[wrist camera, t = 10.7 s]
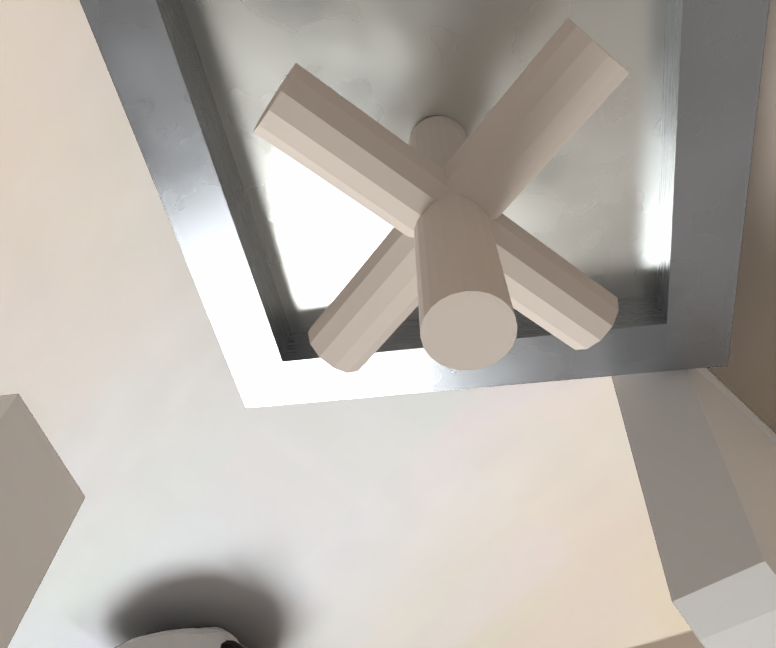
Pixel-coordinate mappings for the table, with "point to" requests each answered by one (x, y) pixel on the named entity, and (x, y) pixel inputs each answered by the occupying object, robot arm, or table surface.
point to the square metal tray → (468, 107)
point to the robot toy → (186, 639)
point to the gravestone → (707, 501)
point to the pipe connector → (452, 212)
